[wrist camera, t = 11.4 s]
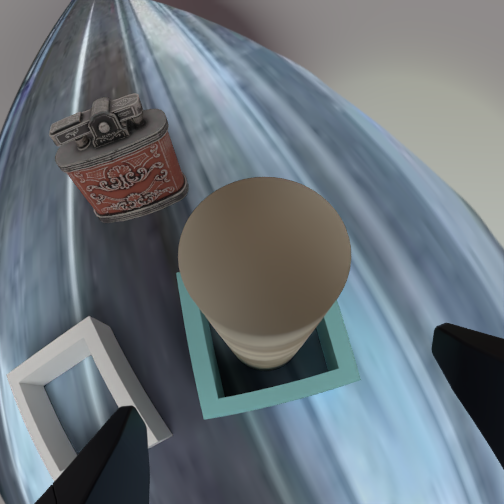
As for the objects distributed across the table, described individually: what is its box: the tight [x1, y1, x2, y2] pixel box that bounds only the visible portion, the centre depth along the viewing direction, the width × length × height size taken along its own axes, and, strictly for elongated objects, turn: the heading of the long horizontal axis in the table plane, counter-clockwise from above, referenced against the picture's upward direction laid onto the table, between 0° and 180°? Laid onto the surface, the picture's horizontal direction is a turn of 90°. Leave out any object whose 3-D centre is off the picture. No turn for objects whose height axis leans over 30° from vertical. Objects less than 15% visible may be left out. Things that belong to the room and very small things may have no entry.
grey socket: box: [7, 316, 173, 481], centre depth 16 cm, size 9×9×3 cm
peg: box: [178, 177, 351, 371], centre depth 14 cm, size 4×4×13 cm
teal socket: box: [176, 272, 361, 419], centre depth 18 cm, size 9×9×3 cm
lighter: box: [49, 94, 188, 223], centre depth 20 cm, size 8×3×10 cm, turn 106°
